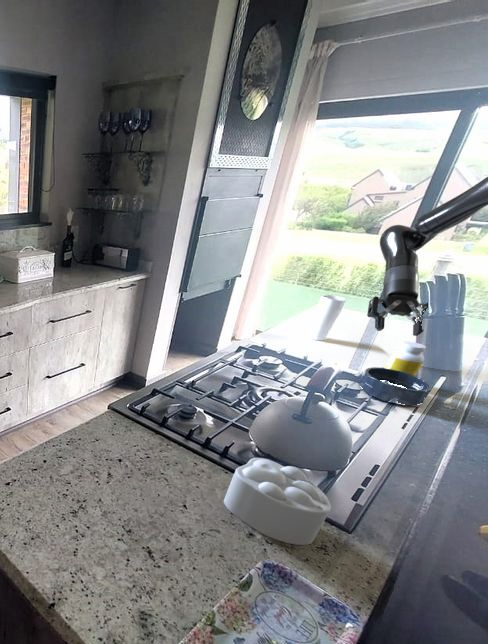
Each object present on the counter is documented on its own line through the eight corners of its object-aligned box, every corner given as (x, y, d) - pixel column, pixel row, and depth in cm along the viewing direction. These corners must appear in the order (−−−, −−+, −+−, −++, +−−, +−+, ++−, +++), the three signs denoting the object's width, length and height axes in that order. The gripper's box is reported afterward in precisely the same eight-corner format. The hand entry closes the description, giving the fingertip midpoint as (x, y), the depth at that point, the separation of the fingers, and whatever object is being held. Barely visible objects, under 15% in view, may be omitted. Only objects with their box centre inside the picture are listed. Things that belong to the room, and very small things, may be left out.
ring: (428, 398, 107) (438, 382, 105) (413, 413, 101) (424, 396, 98) (366, 378, 117) (374, 363, 115) (349, 390, 110) (357, 374, 108)
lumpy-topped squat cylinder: (247, 482, 77) (262, 446, 73) (325, 528, 68) (348, 490, 64) (216, 503, 72) (231, 466, 68) (296, 557, 63) (319, 517, 59)
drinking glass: (307, 340, 142) (325, 299, 135) (302, 333, 148) (318, 293, 141) (330, 343, 140) (349, 301, 133) (323, 336, 146) (341, 296, 139)
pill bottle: (412, 389, 112) (434, 351, 106) (381, 383, 115) (402, 345, 109) (406, 380, 116) (427, 343, 111) (377, 374, 119) (396, 338, 114)
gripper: (379, 274, 121) (376, 322, 117) (440, 280, 116) (439, 330, 112) (364, 287, 128) (361, 333, 124) (421, 293, 123) (420, 341, 119)
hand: (398, 332), depth 118 cm, fingers open, 8 cm apart
